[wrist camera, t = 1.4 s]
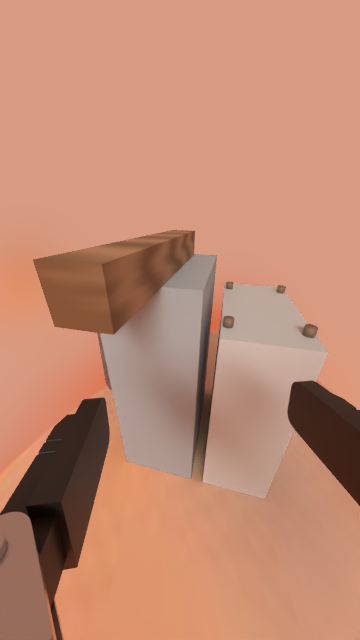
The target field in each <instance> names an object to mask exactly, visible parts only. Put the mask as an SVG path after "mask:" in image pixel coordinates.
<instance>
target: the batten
mask: <svg viewBox="0 0 360 640" xmlns="http://www.w3.org/2000/svg"><path fill="white" fill-rule="evenodd" d="M194 237H195V231H177V230H172V231H167V232H162V233H157V234H153V235H148V236H144V237H139V238H134V239H129V240H124V241H120V242H115V243H111V244H105V245H101V246H96V247H91V248H87V249H82V250H78V251H72V252H68V253H63V254H58V255H54V256H49V257H44V258H40V259H35V260H33V261H34V265H35V268H36V271H37V273H38V277H39V280H40V283H41V286H42V289H43V292H44V295H45V298H46V301H47V304H48V307H49V311H50V314H51V317H52V319H53V322H54V326H55V327H61V328H68V329H76V330H82V331H90V332H97V333H104V334H111V335H114V334H115V333H116V332H117V331H118V330H119V329H120V328H121V327H122V326H123V325H124V324H125V323H126V322H127V321H128V320H129V319H130V318H131V317H132V316H133V315H134V314H135V313H136V312H137V311H138V310H139V309H140V308H141V307H142V306H143V305H144V304H145V303H146V302H147V301H148V300H149V299H150V298H151V297H152V296H153V295H154V294H155V293H156V292H157V291H158V290H159V289H160V288H161V287H162V286H163V285H164V284H165V283H166V282H167V281H168V280H169V279H170V278H171V277H172V276H173V275H174V274H175V273H176V272H177V271H178V270H179V269H180V268H181V267H182V266H183V265H184V264H185V263H186V262H188V261H189V260H190V259H191V258H192V257H193V256H194Z"/></svg>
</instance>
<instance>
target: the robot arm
mask: <svg viewBox="0 0 360 640" xmlns="http://www.w3.org/2000/svg"><path fill="white" fill-rule="evenodd" d="M287 414H288V419H289V422H290V424H291V425H292V427H293V428H294V429H295V430H296V432H297V433H298V434H299V435H300V436H301V437H302V439H303V440H304V441H305V442H306V443H307V444H308V446H309V447H310V448H311V449H312V450H313V452H314V453H315V454H316V455H317V456H318V457H319V459H320V460H321V461H322V462H323V463H324V464H325V466H326V467H327V468H328V469H329V470H330V471H331V473H332V474H333V475H334V476H335V477H336V479H337V480H338V481H339V482H340V483H341V484H342V486H343V487H344V488H345V489H346V490H347V491H348V493H349V494H350V495H351V496H352V497H353V499H354V500H355V501H356V502H357V503H358V504H359V506H360V410H356V408H355V407H354V406H353V405H351V404H350V403H348V402H347V401H346V400H344V399H343V398H341V397H339V396H336V395H334V394H332V393H330V392H329V391H328V390H326V389H325V388H323V387H322V386H321V385H319V384H318V383H317V382H315V381H312V380H309V381H298V382H294V383H293V384H292V386H291V391H290V398H289V404H288V410H287ZM108 444H109V423H108V415H107V408H106V401H105V398H93V399H84V400H83V401H82V402H81V404H80V406H79V408H78V410H77V411H76V413H75V414H71V415H67V416H66V417H64V418H63V419H62V420H61V421H60V422H59V423H58V424H57V425H56V426H55V427H54V428H53V430H52V431H51V433H50V435H49V436H48V438H47V439H46V443H44V444H43V446H42V448H41V449H40V451H39V454H38V455H37V456H36V457H35V459H34V460H33V462H32V464H31V465H30V467H29V468H28V470H27V472H26V473H25V475H24V477H23V478H22V480H21V481H20V483H19V485H18V486H17V488H16V489H15V491H14V493H13V494H12V496H11V498H10V499H9V501H8V502H7V504H6V506H5V507H4V509H3V510H2V512H1V513H0V640H64V637H63V633H62V628H61V624H60V620H59V615H58V611H57V606H56V602H55V594H56V591H57V587H58V584H59V581H60V577H61V574H62V571H63V570H65V569H70V568H76V567H77V566H78V562H79V558H80V554H81V550H82V547H83V543H84V539H85V535H86V531H87V527H88V523H89V519H90V515H91V511H92V508H93V504H94V500H95V496H96V492H97V488H98V484H99V480H100V476H101V472H102V469H103V465H104V461H105V457H106V453H107V449H108Z"/></svg>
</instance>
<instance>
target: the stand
mask: <svg viewBox="0 0 360 640" xmlns="http://www.w3.org/2000/svg"><path fill="white" fill-rule="evenodd" d="M216 259H217V256H216V255H199V254H194V256H193V257H192V258H191V259H190V260H189V261H188V262H186V263H185V264H184V265H183V266H182V267H181V268H180V269H179V270H178V271H177V272H176V273H175V274H174V275H173V276H172V277H171V278H170V279H169V280H168V281H167V282H166V283H165V284H164V285H163V286H162V287H161V288H160V289H159V290H158V291H157V292H156V293H155V294H154V295H153V296H152V297H151V298H150V299H149V300H148V301H147V302H146V303H145V304H144V305H143V306H142V307H141V308H140V309H139V310H138V311H137V312H136V313H135V314H134V315H133V316H132V317H131V318H130V319H129V320H128V321H127V322H126V323H125V324H124V325H123V326H122V327H121V328H120V329H119V330H118V331H117V332H116V333H115V334H114V335H111V334H104V333H100V336H101V340H102V345H103V350H104V355H105V360H106V364H107V369H108V374H109V379H110V384H111V388H112V393H113V398H114V403H115V408H116V412H117V417H118V422H119V427H120V432H121V436H122V441H123V446H124V451H125V456H126V460H127V462H130V463H134V464H138V465H141V466H145V467H149V468H152V469H156V470H159V471H163V472H167V473H170V474H174V475H178V476H181V477H185V478H189V479H191V475H192V468H193V462H194V455H195V449H196V443H197V436H198V430H199V423H200V417H201V410H202V404H203V397H204V391H205V380H206V369H207V358H208V347H209V336H210V324H211V314H212V303H213V292H214V280H215V270H216ZM285 288H286V287H285V286H280V285H279V286H278V287H271V286H258V285H244V284H233V282H227V283H225V287H224V296H223V305H222V313H221V322H220V330H219V339H218V347H217V356H216V364H215V373H214V382H213V390H212V399H211V408H210V417H209V426H208V436H207V445H206V454H205V463H204V472H203V481H202V482H203V483H207V484H211V485H214V486H218V487H222V488H225V489H229V490H233V491H236V492H240V493H244V494H247V495H251V496H255V497H258V498H262V499H265V497H266V494H267V492H268V490H269V488H270V485H271V483H272V481H273V479H274V476H275V474H276V472H277V469H278V467H279V465H280V463H281V460H282V458H283V456H284V454H285V451H286V449H287V447H288V444H289V442H290V440H291V438H292V435H293V433H294V431H295V429H294V428H293V427H292V425H291V424H290V422H289V419H288V414H287V410H288V404H289V398H290V391H291V386H292V384H293V383H294V382H298V381H309V380H312V381H315V382H316V381H317V378H318V376H319V374H320V371H321V369H322V367H323V364H324V363H325V360H326V358H327V355H328V351H327V350H326V348H325V347H324V346H323V344H322V343H321V341H320V340H319V339H318V337H317V336H316V333H317V330H318V327H316V326H314V325H311V324H308V323H307V322H306V321H305V319H304V318H303V316H302V315H301V314H300V312H299V311H298V309H297V308H296V307H295V305H294V304H293V303H292V301H291V300H290V298H289V297H288V296H287V294H286V293H285Z"/></svg>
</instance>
